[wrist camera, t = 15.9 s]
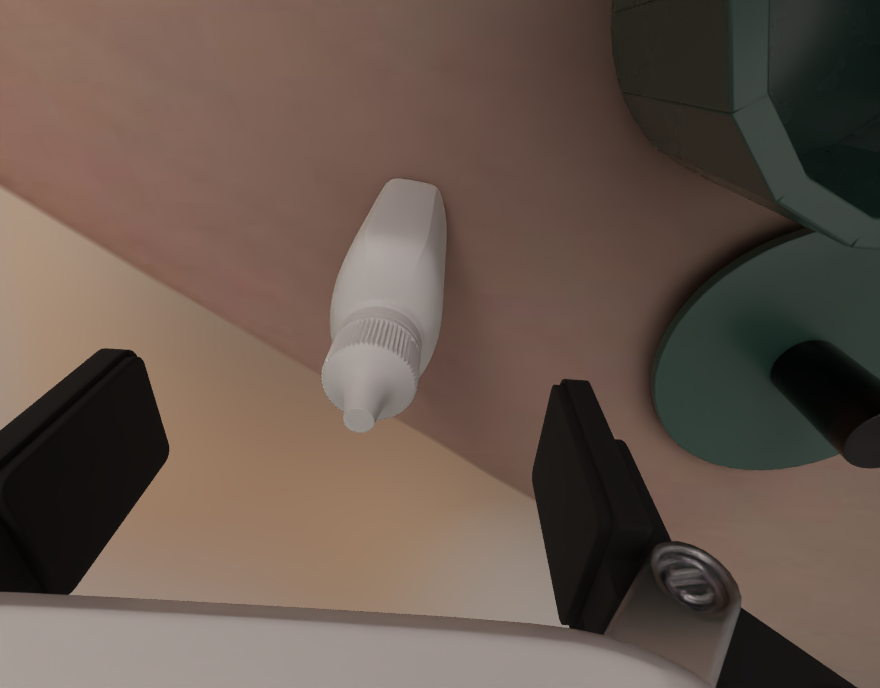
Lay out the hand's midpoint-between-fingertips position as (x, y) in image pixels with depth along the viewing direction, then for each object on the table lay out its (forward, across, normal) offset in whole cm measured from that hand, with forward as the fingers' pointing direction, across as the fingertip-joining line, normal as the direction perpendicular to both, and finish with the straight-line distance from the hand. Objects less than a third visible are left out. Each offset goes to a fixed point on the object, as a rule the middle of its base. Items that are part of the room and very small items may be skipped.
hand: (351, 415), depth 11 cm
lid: (+11, -19, +4) cm, 22 cm away
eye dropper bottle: (+12, 0, 0) cm, 12 cm away
